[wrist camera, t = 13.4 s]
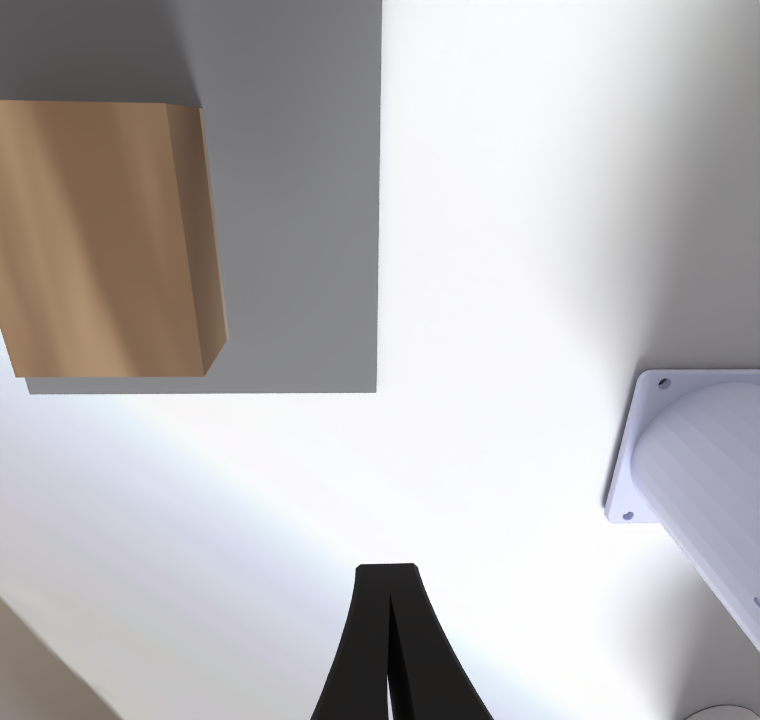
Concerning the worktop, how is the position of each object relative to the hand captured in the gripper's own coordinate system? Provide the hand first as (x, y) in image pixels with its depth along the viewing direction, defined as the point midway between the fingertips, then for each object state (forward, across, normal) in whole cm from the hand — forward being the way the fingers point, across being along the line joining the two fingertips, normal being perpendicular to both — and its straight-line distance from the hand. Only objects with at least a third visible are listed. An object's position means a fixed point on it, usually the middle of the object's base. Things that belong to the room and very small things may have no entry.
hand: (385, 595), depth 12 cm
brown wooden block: (+8, +6, -6) cm, 12 cm away
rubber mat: (+10, +7, -7) cm, 14 cm away
